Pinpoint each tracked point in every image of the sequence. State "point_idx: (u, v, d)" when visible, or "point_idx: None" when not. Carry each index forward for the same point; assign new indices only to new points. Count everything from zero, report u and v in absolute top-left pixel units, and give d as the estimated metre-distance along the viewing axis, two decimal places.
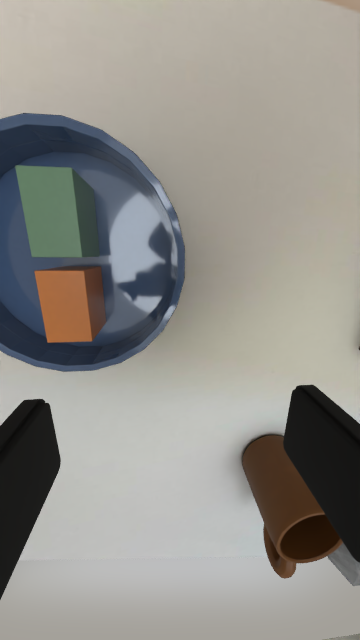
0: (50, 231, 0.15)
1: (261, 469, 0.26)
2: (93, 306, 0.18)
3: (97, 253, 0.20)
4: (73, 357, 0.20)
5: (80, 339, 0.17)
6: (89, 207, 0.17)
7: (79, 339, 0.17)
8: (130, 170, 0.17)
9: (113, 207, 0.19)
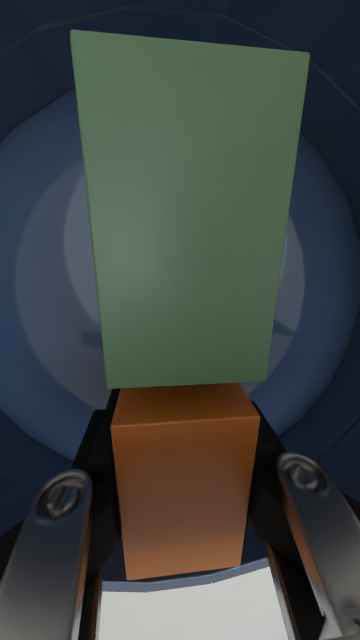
0: (182, 308, 0.04)
1: None
2: None
3: None
4: None
5: (212, 567, 0.07)
6: None
7: (209, 565, 0.07)
8: (349, 117, 0.06)
9: None
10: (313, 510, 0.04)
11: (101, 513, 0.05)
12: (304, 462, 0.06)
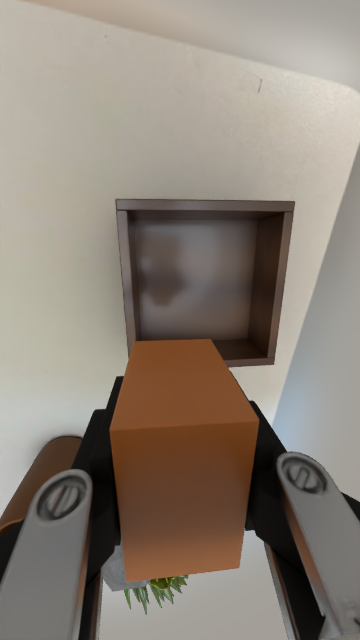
0: None
1: (27, 472, 0.25)
2: None
3: None
4: None
5: (211, 569, 0.07)
6: None
7: (208, 567, 0.07)
8: None
9: None
10: (313, 510, 0.04)
11: (101, 513, 0.05)
12: (304, 462, 0.06)
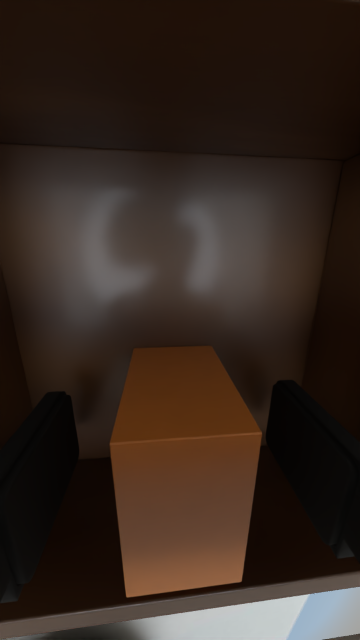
0: None
1: None
2: None
3: None
4: None
5: (212, 583, 0.06)
6: None
7: (210, 582, 0.06)
8: None
9: None
10: None
11: None
12: None
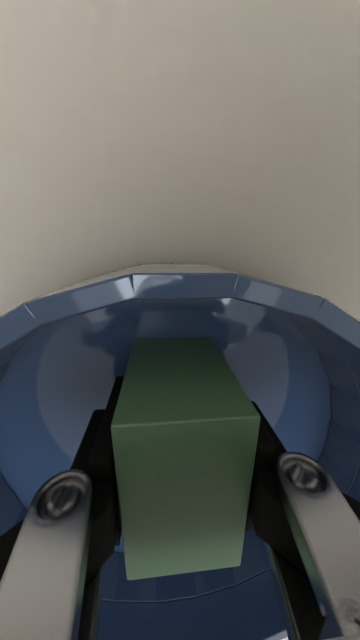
0: (180, 536, 0.06)
1: None
2: None
3: None
4: (158, 615, 0.11)
5: None
6: None
7: None
8: (309, 326, 0.08)
9: (242, 363, 0.10)
10: (313, 510, 0.04)
11: (101, 513, 0.05)
12: (304, 462, 0.06)
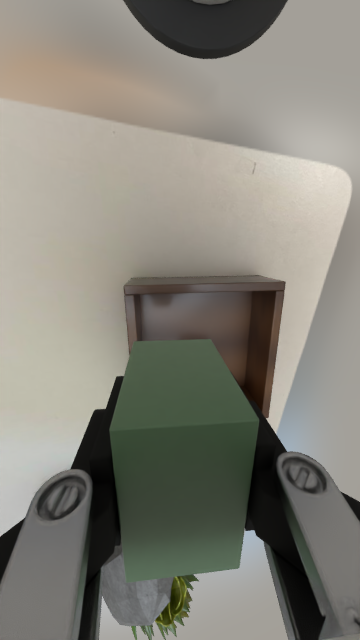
0: (178, 539, 0.06)
1: None
2: None
3: None
4: None
5: None
6: None
7: None
8: None
9: None
10: (313, 510, 0.04)
11: (101, 513, 0.05)
12: (303, 461, 0.06)
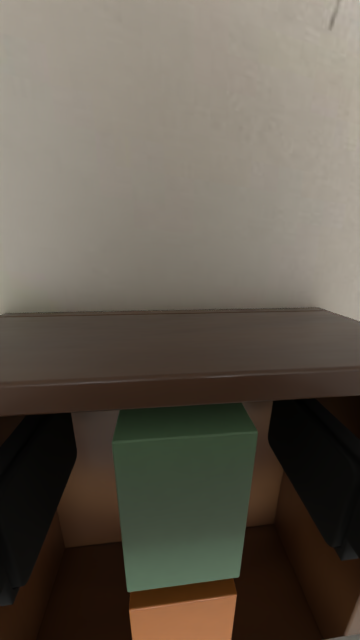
0: (179, 549, 0.06)
1: None
2: None
3: None
4: None
5: None
6: None
7: None
8: None
9: None
10: None
11: None
12: None
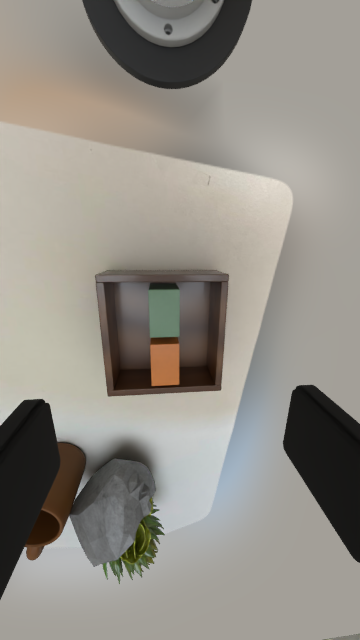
0: (163, 323, 0.25)
1: None
2: None
3: None
4: None
5: (171, 383, 0.27)
6: None
7: (171, 383, 0.27)
8: None
9: None
10: None
11: None
12: None
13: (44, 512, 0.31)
